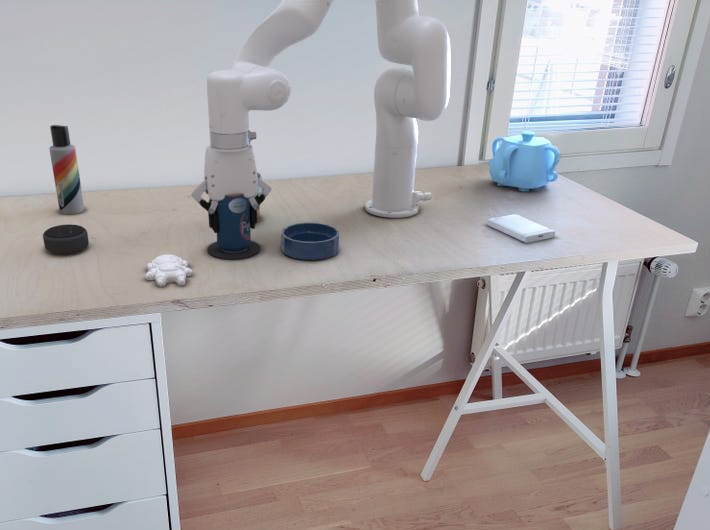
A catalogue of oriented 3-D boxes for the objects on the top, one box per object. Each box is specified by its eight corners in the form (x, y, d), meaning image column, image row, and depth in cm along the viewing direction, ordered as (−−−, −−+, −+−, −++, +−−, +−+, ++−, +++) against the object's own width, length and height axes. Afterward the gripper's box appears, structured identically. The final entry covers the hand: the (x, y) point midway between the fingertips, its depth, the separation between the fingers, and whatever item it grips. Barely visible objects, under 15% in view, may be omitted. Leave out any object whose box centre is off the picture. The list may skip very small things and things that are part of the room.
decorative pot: (490, 192, 182) (498, 138, 175) (485, 174, 196) (492, 124, 189) (556, 195, 180) (566, 141, 173) (546, 177, 193) (556, 126, 186)
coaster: (252, 238, 153) (252, 236, 153) (266, 256, 144) (266, 254, 144) (202, 243, 151) (202, 241, 150) (213, 262, 142) (213, 260, 141)
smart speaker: (68, 259, 143) (64, 241, 141) (36, 251, 147) (32, 233, 145) (98, 245, 150) (95, 227, 148) (67, 238, 153) (64, 220, 151)
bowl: (327, 237, 154) (327, 220, 152) (346, 257, 144) (347, 238, 142) (274, 243, 151) (274, 225, 149) (291, 264, 141) (291, 245, 139)
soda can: (251, 253, 144) (249, 196, 138) (217, 254, 144) (213, 196, 138) (250, 241, 150) (248, 185, 144) (217, 242, 150) (214, 186, 144)
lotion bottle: (54, 213, 168) (39, 126, 158) (69, 206, 172) (56, 121, 162) (74, 216, 166) (61, 128, 156) (89, 208, 171) (76, 123, 161)
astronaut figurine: (144, 288, 131) (142, 273, 129) (148, 263, 141) (146, 249, 140) (192, 286, 132) (191, 271, 130) (192, 261, 142) (191, 247, 140)
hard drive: (487, 218, 159) (526, 236, 150) (516, 213, 163) (555, 230, 153) (486, 226, 160) (525, 243, 151) (515, 220, 163) (554, 237, 154)
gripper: (267, 132, 142) (269, 218, 150) (181, 138, 137) (187, 227, 146) (278, 141, 135) (279, 230, 144) (188, 148, 131) (194, 239, 140)
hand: (233, 228), depth 145 cm, fingers closed on soda can, 7 cm apart
